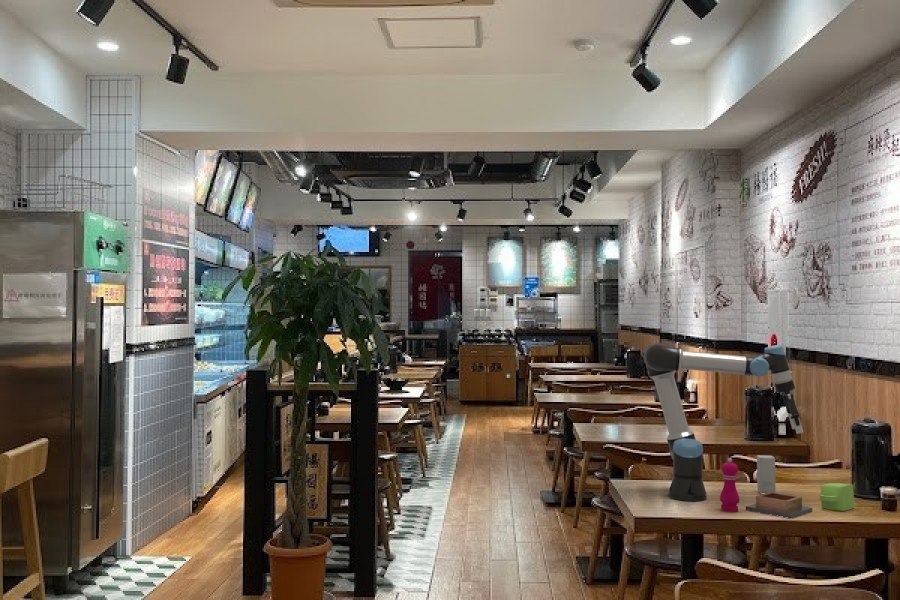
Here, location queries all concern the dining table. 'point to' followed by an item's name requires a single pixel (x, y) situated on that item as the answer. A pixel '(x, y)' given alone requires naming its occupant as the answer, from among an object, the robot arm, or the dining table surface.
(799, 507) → the plate
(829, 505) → the green bread box
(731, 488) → the pepper mill
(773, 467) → the skincare box
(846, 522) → the dining table surface
